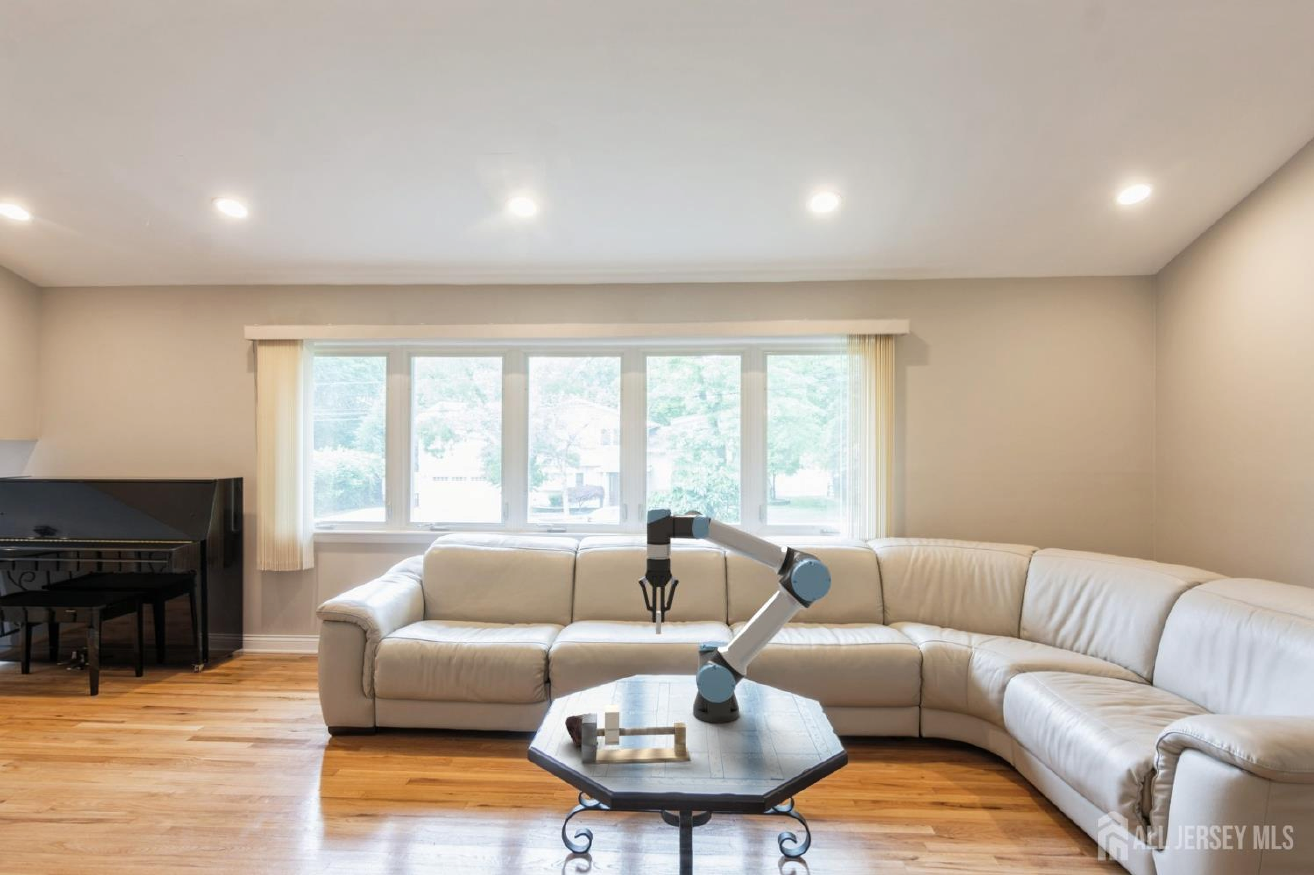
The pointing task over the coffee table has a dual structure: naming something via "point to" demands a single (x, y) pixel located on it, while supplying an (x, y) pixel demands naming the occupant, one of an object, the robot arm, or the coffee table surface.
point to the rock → (575, 728)
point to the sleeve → (611, 724)
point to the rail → (632, 755)
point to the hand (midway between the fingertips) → (658, 632)
